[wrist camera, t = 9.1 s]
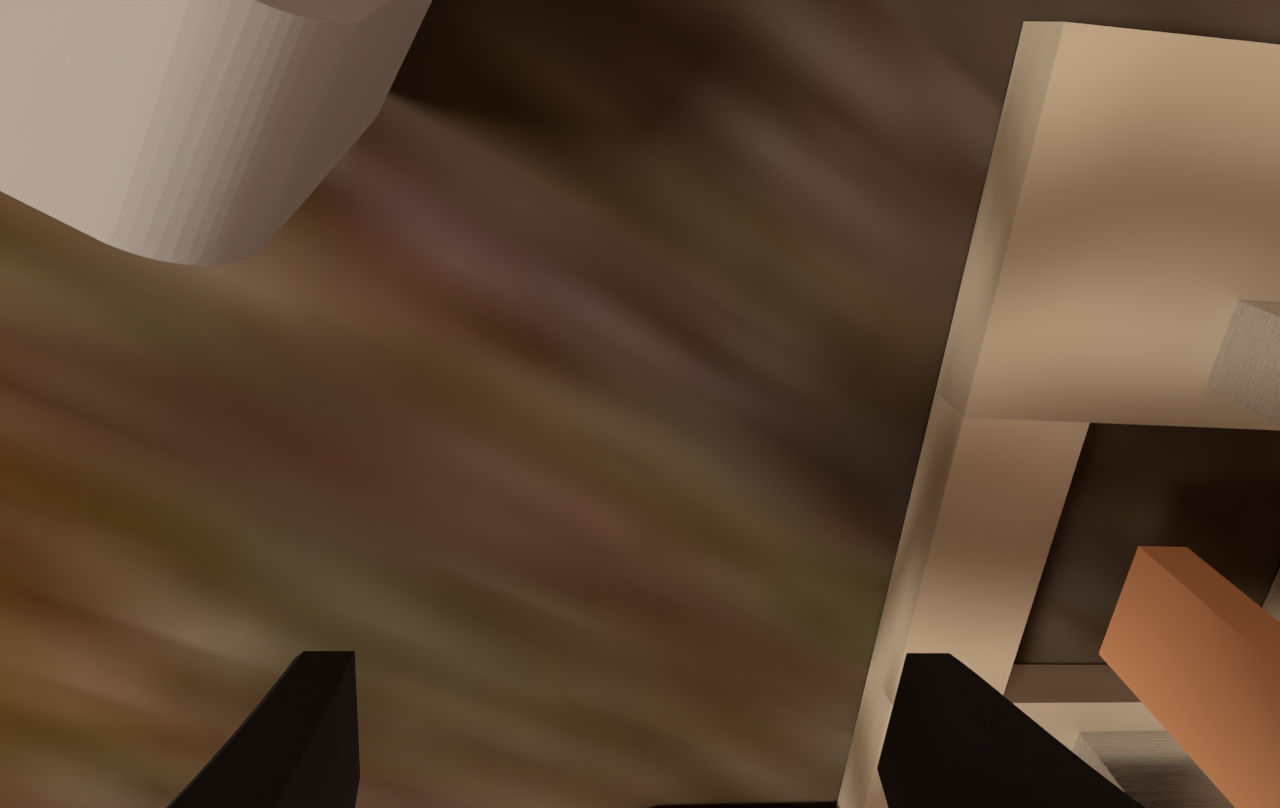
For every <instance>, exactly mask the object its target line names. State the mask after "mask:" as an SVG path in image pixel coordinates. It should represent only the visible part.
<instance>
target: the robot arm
mask: <svg viewBox="0 0 1280 808" xmlns="http://www.w3.org/2000/svg"><path fill="white" fill-rule="evenodd" d="M877 770H878V774H879V777H880V781H881V784H882V788H883V791H884V794H885V798H886V801H887V805H888V808H1145V807H1144V806H1142V805H1141V804H1140V803H1138V802H1137V801H1136V800H1134V799H1133V798H1132V797H1130V796H1129V795H1127V794H1126V793H1125V792H1123V791H1122V790H1121V789H1119V788H1118V787H1117V786H1116V785H1114V784H1113V783H1112V782H1110V781H1109V780H1108V779H1106V778H1105V777H1104V776H1102V775H1101V774H1100V773H1099V772H1097V771H1096V770H1095V769H1093V768H1092V767H1091V766H1090V765H1088V764H1087V763H1086V762H1084V761H1083V760H1082V759H1081V758H1079V757H1078V756H1077V755H1076V754H1074V753H1073V752H1072V751H1071V750H1069V749H1068V748H1067V747H1066V746H1064V745H1063V744H1062V743H1061V742H1059V741H1058V740H1057V739H1056V738H1054V737H1053V736H1052V735H1051V734H1050V733H1048V732H1047V731H1046V730H1045V729H1043V728H1042V727H1041V726H1040V725H1039V724H1037V723H1036V722H1035V721H1034V720H1032V719H1031V718H1030V717H1029V716H1028V715H1026V714H1025V713H1024V712H1023V711H1021V710H1020V709H1019V708H1018V707H1017V706H1015V705H1014V704H1013V703H1012V702H1011V701H1009V700H1008V699H1007V698H1006V697H1004V696H1003V695H1002V694H1001V693H1000V692H998V691H997V690H996V689H995V688H993V687H992V686H991V685H990V684H989V683H987V682H986V681H985V680H984V679H982V678H981V677H980V676H979V675H977V674H976V673H975V672H974V671H972V670H971V669H970V668H969V667H967V666H966V665H965V664H963V663H962V662H961V661H959V660H958V659H957V658H955V657H954V656H953V655H951V654H950V653H907V654H906V658H905V661H904V665H903V669H902V673H901V677H900V681H899V685H898V689H897V693H896V696H895V700H894V704H893V708H892V712H891V716H890V720H889V724H888V728H887V731H886V735H885V739H884V743H883V747H882V751H881V755H880V759H879V763H878V766H877ZM359 780H360V764H359V742H358V719H357V696H356V674H355V651H303V652H302V653H301V654H300V655H299V656H297V657H296V658H295V659H294V660H293V661H292V663H291V664H290V665H289V667H288V668H287V669H286V670H285V672H284V673H283V674H282V676H281V677H280V678H279V679H278V681H277V682H276V683H275V684H274V686H273V687H272V688H271V690H270V691H269V692H268V693H267V695H266V696H265V697H264V698H263V699H262V701H261V702H260V703H259V704H258V706H257V707H256V708H255V709H254V710H253V712H252V713H251V714H250V715H249V716H248V718H247V719H246V720H245V721H244V722H243V724H242V725H241V726H240V727H239V728H238V729H237V731H236V732H235V733H234V734H233V735H232V736H231V738H230V739H229V740H228V741H227V742H226V743H225V744H224V745H223V747H222V748H221V749H220V750H219V751H218V752H217V753H216V754H215V756H214V757H213V758H212V759H211V760H210V761H209V762H208V763H207V765H206V766H205V767H204V768H203V769H202V770H201V771H200V772H199V774H198V775H197V776H196V777H195V778H194V779H193V780H192V781H191V782H190V784H189V785H188V786H187V787H186V788H185V789H184V790H183V791H182V792H181V793H180V794H179V795H178V796H177V797H176V798H175V799H174V800H173V801H172V802H171V803H170V804H169V805H168V807H167V808H355V803H356V797H357V791H358V785H359Z"/></svg>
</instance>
